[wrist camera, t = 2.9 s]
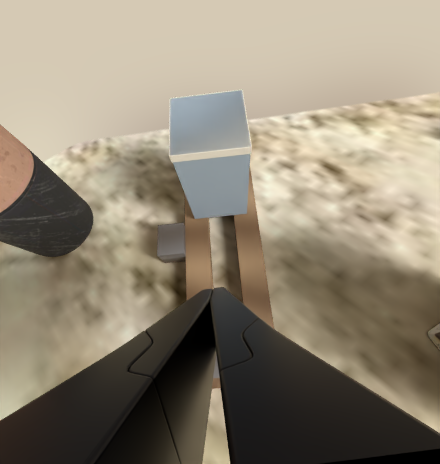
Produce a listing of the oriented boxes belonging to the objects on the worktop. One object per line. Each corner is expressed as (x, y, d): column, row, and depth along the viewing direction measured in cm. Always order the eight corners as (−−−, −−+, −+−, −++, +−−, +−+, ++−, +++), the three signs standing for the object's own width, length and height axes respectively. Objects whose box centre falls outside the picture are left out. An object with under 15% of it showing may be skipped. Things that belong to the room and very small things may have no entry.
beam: (278, 379, 19) (288, 390, 16) (162, 387, 20) (145, 400, 16) (244, 145, 29) (245, 117, 25) (166, 154, 29) (156, 128, 25)
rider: (247, 221, 25) (251, 147, 15) (197, 226, 25) (169, 156, 15) (241, 179, 27) (242, 89, 17) (195, 184, 27) (169, 98, 17)
